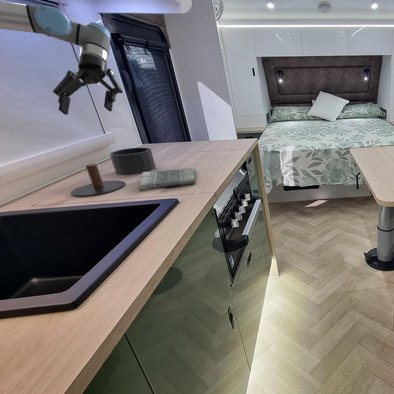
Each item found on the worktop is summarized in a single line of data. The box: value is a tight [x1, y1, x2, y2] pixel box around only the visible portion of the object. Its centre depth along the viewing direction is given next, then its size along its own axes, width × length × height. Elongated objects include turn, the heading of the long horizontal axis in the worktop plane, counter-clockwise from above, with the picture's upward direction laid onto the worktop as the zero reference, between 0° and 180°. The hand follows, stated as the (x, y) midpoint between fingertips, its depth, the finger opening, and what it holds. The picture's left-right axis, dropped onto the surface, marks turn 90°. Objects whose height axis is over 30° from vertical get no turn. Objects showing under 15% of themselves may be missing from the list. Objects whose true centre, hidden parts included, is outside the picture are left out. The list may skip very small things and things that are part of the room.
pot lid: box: [70, 163, 126, 198], centre depth 98 cm, size 15×15×9 cm
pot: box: [109, 146, 157, 176], centre depth 120 cm, size 14×14×8 cm
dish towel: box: [137, 167, 197, 192], centre depth 108 cm, size 19×18×3 cm
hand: (85, 110), depth 98 cm, fingers open, 13 cm apart
